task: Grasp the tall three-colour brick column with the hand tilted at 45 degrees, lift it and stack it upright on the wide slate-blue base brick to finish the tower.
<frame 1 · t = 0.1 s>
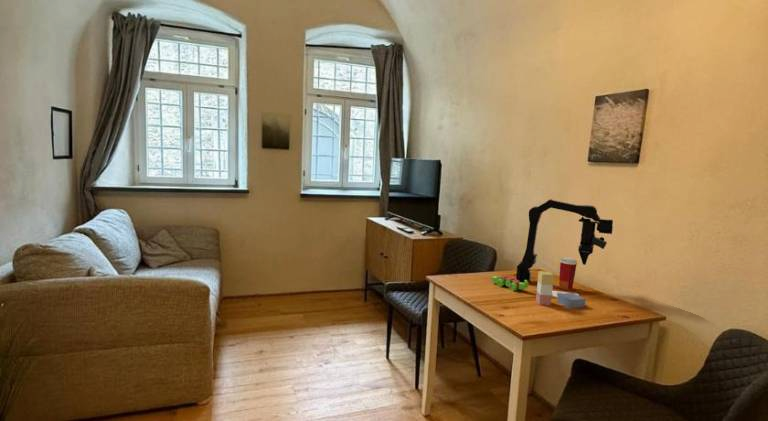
hand: (584, 262, 205), 15 cm above the table, tool pointing down, fingers open, 9 cm apart
base brick: (570, 304, 188), on the table
brick column: (543, 303, 188), on the table
instruction page: (565, 295, 200), on the table
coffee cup: (565, 288, 211), on the table
green bumpy elongated piece: (508, 288, 208), on the table
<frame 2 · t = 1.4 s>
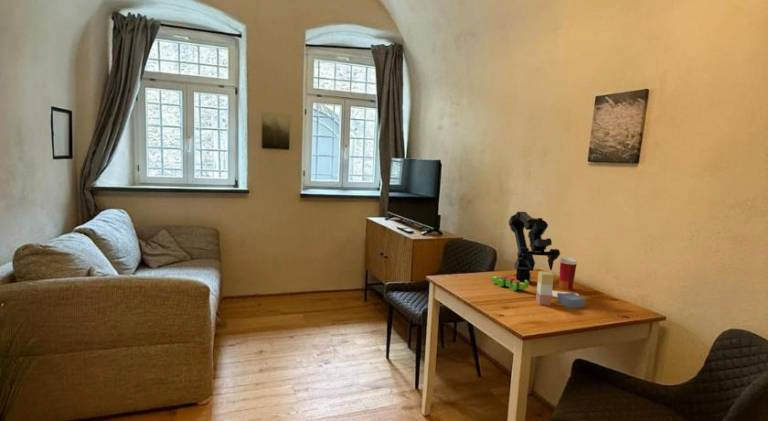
hand: (541, 269, 194), 13 cm above the table, tool tilted 45°, fingers open, 9 cm apart
nothing on the table moved.
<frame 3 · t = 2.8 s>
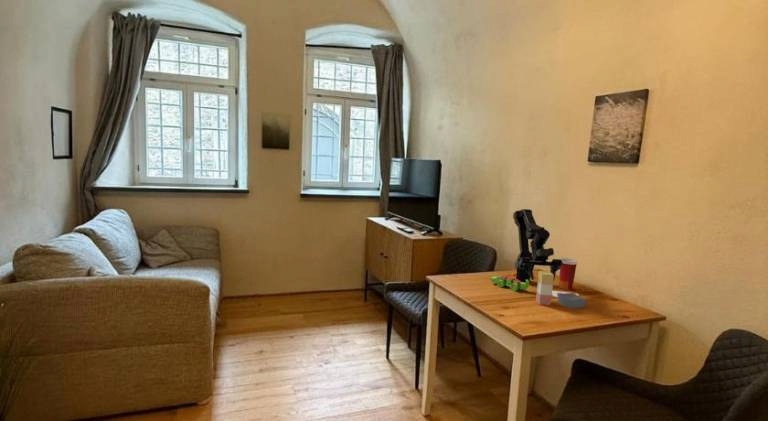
hand: (543, 279, 189), 10 cm above the table, tool tilted 45°, fingers open, 9 cm apart
nothing on the table moved.
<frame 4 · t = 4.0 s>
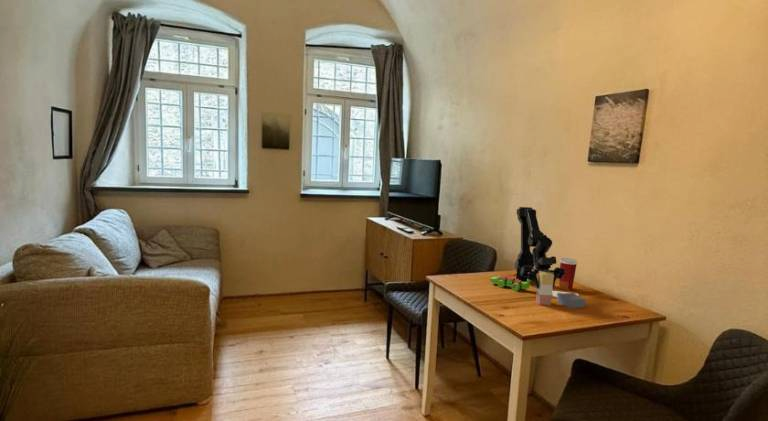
hand: (545, 288, 185), 7 cm above the table, tool tilted 45°, fingers open, 6 cm apart
brick column: (543, 303, 188), on the table, touching gripper
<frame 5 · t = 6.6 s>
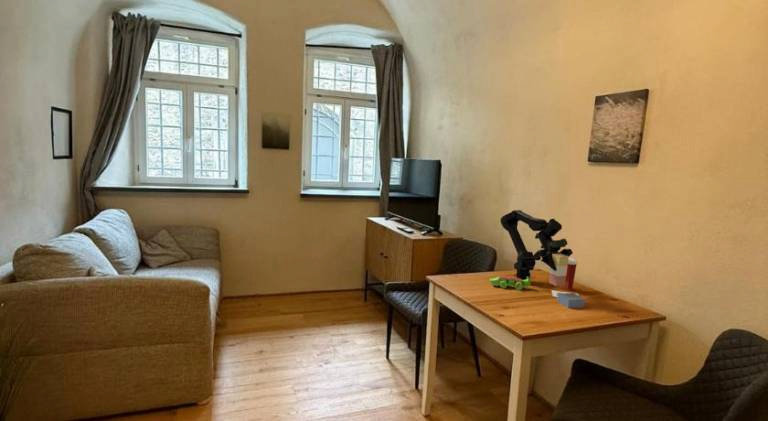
hand: (560, 270, 194), 13 cm above the table, tool tilted 45°, fingers closed on brick column, 5 cm apart
brick column: (556, 283, 196), point 6 cm above the table, touching gripper
when the fingers open (12 cm above the table, at t = 8.7 s): brick column drops 1 cm, point 4 cm above the table.
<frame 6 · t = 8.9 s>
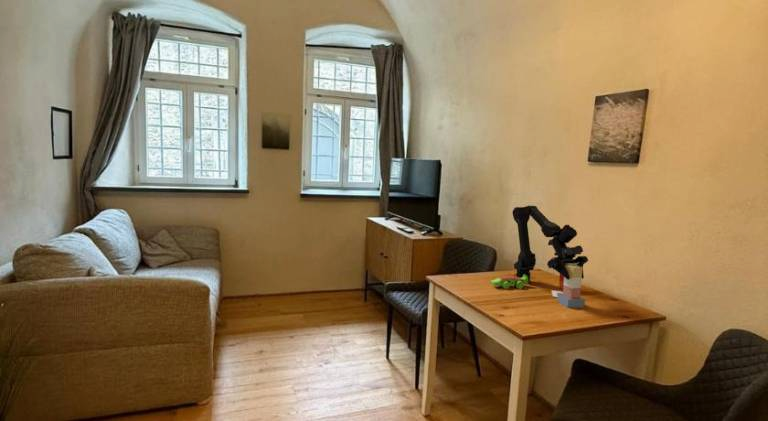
hand: (575, 278, 185), 12 cm above the table, tool tilted 45°, fingers open, 7 cm apart
brick column: (571, 296, 188), point 4 cm above the table
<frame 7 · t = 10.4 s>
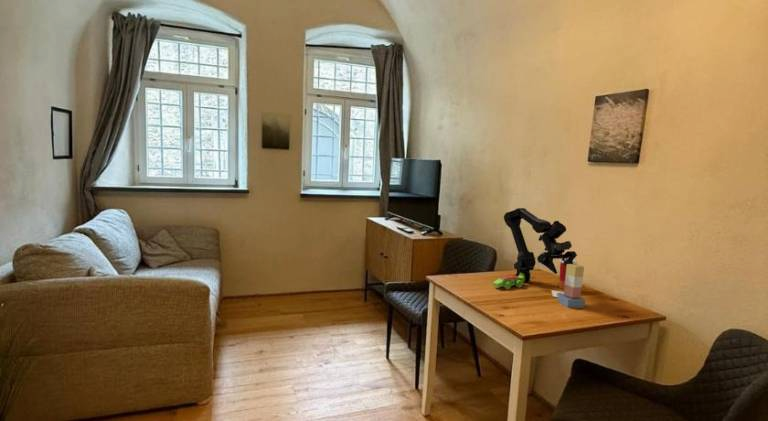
hand: (564, 273, 192), 13 cm above the table, tool tilted 45°, fingers open, 9 cm apart
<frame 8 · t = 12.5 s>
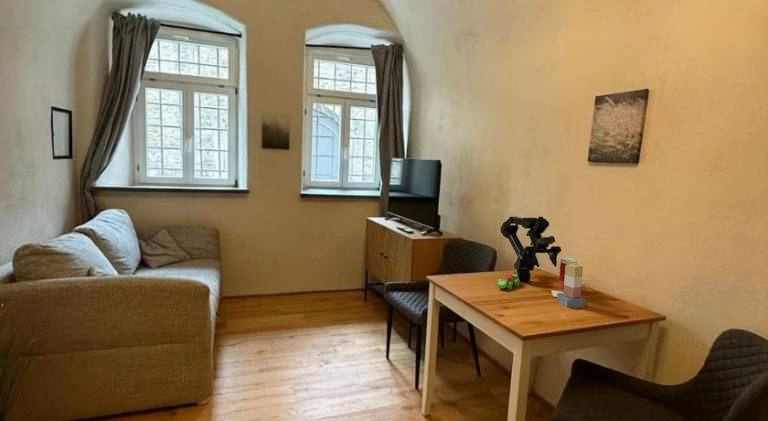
hand: (547, 266, 199), 14 cm above the table, tool tilted 45°, fingers open, 9 cm apart
base brick: (570, 305, 188), on the table, touching brick column
brick column: (571, 296, 188), point 4 cm above the table, touching base brick
at the end: brick column 0.3 cm off-centre on the base brick, point 4.2 cm above the base brick's base; brick column tilted 4°; the gripper is holding nothing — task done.
